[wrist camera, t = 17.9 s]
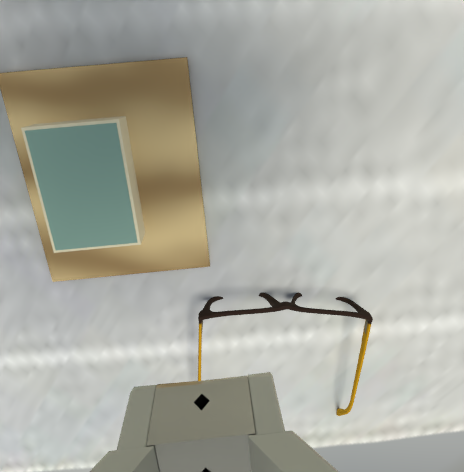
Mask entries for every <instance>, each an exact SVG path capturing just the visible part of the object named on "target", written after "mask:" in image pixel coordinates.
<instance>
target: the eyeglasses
mask: <svg viewBox="0 0 464 472" xmlns="http://www.w3.org/2000/svg"><path fill="white" fill-rule="evenodd" d="M259 296H261V297H264V298H265V299H266V300H267V301H268V302H269V303H270V305H271V306H272V307H270V308H261V309H248V310H234V311H222V312H212V311H210V306H211V304H212V303H213V302H215V301H217V300H220V299H223V297H219V296H217V297H213V298H211V299H209V300H208V302H207V303H206V305H205V307H204V309H203V310H202V311H200V313H199V317H198V319H199V356H198V381H201V339H202V327H203V320H204V319H209V318H214V317H221V316H230V315H242V314H255V313H267V312H275V311H281V310H285V309H289V310H294V311H299V312H307V313H318V314H330V315H342V316H350V317H357V318H362V319H366V321H365V326H364V332H363V337H362V344H361V349H360V354H359V359H358V364H357V370H356V375H355V380H354V385H353V390H352V395H351V400H350V403H349V406H348V407H347V408H346V409H345V410H344V409H339V408H338V409H337V415H338V416H341V415H345V414H348V413H349V412H350V410H351V408H352V406H353V403H354V398H355V394H356V390H357V385H358V381H359V377H360V372H361V368H362V364H363V359H364V355H365V351H366V346H367V342H368V337H369V332H370V327H371V322H372V320H373V319H372V316H371V315H370V313H369V312H367V311H366V310H364V309H363V308H361V307H360V306H359V305H357V304H356V303H355V302H353V301H351V300H349V299H347V298H344V297H337V298H336V299H337V300H340V301H343V302H346V303H348V304H350V305H351V306H352V307H353V308H355V309H356V311H357V312H348V311H336V310H324V309H312V308H304V307H300V306H297V305H296V304H295V301H296V299H297V298H298V297H301V296H302V295H301V293H296V294H295V295H294V297H293V299H292V301H291V303H290V302H281V303H280V302H278V301H277V300H276V299H274V298H273V297H272V296H270V295H268V294H266V293H260V294H259Z"/></svg>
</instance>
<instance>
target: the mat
mask: <svg viewBox="0 0 464 472" xmlns="http://www.w3.org/2000/svg"><path fill="white" fill-rule="evenodd" d="M0 89H1V93H2V96H3V100H4V104H5V107H6V111H7V115H8V118H9V122H10V126H11V129H12V133H13V137H14V141H15V144H16V148H17V152H18V155H19V159H20V163H21V166H22V170H23V174H24V177H25V181H26V185H27V189H28V192H29V196H30V200H31V203H32V207H33V211H34V214H35V218H36V222H37V225H38V229H39V233H40V237H41V240H42V244H43V248H44V251H45V255H46V259H47V262H48V266H49V270H50V273H51V277H52V281H53V282H55V281H65V280H76V279H86V278H96V277H106V276H116V275H127V274H137V273H147V272H157V271H167V270H178V269H188V268H198V267H208V266H210V261H209V252H208V243H207V234H206V224H205V215H204V206H203V197H202V188H201V179H200V170H199V161H198V152H197V142H196V133H195V124H194V115H193V106H192V97H191V88H190V79H189V70H188V60H187V57H186V58H174V59H162V60H150V61H138V62H126V63H114V64H102V65H90V66H78V67H66V68H54V69H42V70H30V71H19V72H7V73H0ZM119 116H126V120H127V126H128V132H129V138H130V144H131V150H132V156H133V162H134V168H135V174H136V180H137V186H138V192H139V198H140V203H141V209H142V215H143V221H144V227H145V235H144V238H143V240H142V243H141V245H131V246H121V247H111V248H100V249H90V250H79V251H69V252H59V253H54V252H53V248H52V244H51V240H50V236H49V233H48V229H47V225H46V221H45V217H44V214H43V210H42V206H41V202H40V198H39V195H38V191H37V187H36V183H35V179H34V175H33V172H32V168H31V164H30V160H29V156H28V153H27V149H26V145H25V141H24V137H23V133H22V130H21V128H22V127H26V126H30V125H33V124H39V123H51V122H62V121H74V120H85V119H96V118H108V117H119Z"/></svg>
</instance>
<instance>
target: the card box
mask: <svg viewBox="0 0 464 472" xmlns="http://www.w3.org/2000/svg"><path fill="white" fill-rule="evenodd" d="M21 130H22V133H23V137H24V141H25V145H26V149H27V153H28V156H29V160H30V164H31V168H32V172H33V175H34V179H35V183H36V187H37V191H38V195H39V198H40V202H41V206H42V210H43V214H44V217H45V221H46V225H47V229H48V233H49V236H50V240H51V244H52V248H53V252H54V253H59V252H69V251H79V250H90V249H100V248H111V247H121V246H131V245H141V243H142V240H143V238H144V235H145V227H144V221H143V215H142V209H141V203H140V198H139V192H138V186H137V180H136V174H135V168H134V162H133V156H132V150H131V144H130V138H129V132H128V126H127V120H126V116H119V117H108V118H96V119H85V120H74V121H62V122H51V123H39V124H33V125H30V126H26V127H22V128H21Z"/></svg>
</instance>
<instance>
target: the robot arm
mask: <svg viewBox="0 0 464 472" xmlns="http://www.w3.org/2000/svg"><path fill="white" fill-rule="evenodd" d="M90 472H338V471H337V470H336V469H335V468H334V467H333V466H332V465H330V464H329V463H328V462H327V461H326V460H325V459H324V458H323V457H321V456H320V455H319V454H318V453H317V452H316V451H315V450H314V449H312V448H311V447H310V446H309V445H308V444H307V443H306V442H305V441H303V440H302V439H301V438H300V437H299V436H298V435H297V434H295V433H294V432H293V431H285V429H284V424H283V420H282V416H281V411H280V407H279V403H278V398H277V394H276V389H275V385H274V381H273V376H272V374H271V373H270V372H267V373H259V374H252V375H248V376H239V377H231V378H222V379H213V380H205V381H193V382H181V383H169V384H158V385H150V386H138V387H134V388H133V389H132V391H131V393H130V397H129V401H128V405H127V409H126V413H125V417H124V422H123V426H122V430H121V434H120V438H119V442H118V446H117V450H115V451H109V452H108V453H107V454H106V455H105V456H104V457H103V458H102V459H101V460H100V461H99V462H98V463H97V464H96V465H95V467H94V468H93V469H92V470H91V471H90Z"/></svg>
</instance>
